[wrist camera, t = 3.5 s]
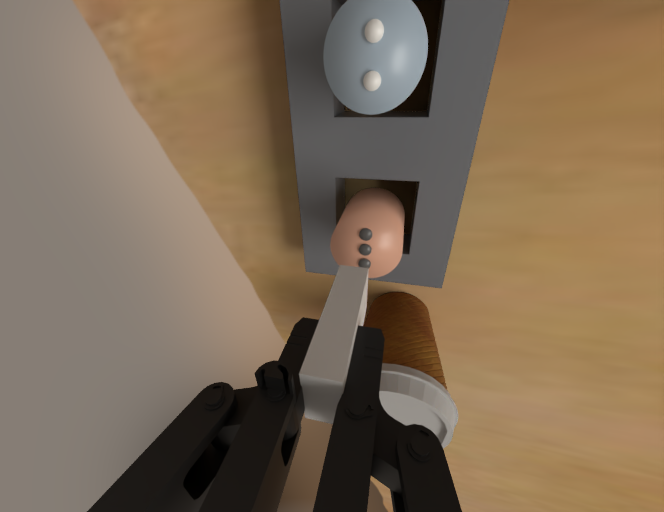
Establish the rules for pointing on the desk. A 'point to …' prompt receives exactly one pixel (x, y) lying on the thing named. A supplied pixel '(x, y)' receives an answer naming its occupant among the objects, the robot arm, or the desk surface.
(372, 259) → the pink rounded piece
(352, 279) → the robot arm
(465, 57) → the button panel
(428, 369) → the disposable coffee cup
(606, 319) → the desk surface
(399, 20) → the slate button
